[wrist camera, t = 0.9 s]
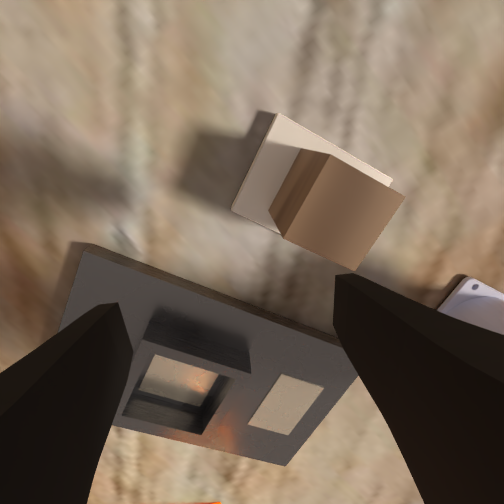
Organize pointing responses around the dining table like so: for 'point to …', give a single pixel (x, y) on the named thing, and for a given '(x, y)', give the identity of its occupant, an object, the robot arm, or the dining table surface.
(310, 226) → the walnut block
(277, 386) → the gray socket plate
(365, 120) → the dining table surface
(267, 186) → the beige rectangular block
